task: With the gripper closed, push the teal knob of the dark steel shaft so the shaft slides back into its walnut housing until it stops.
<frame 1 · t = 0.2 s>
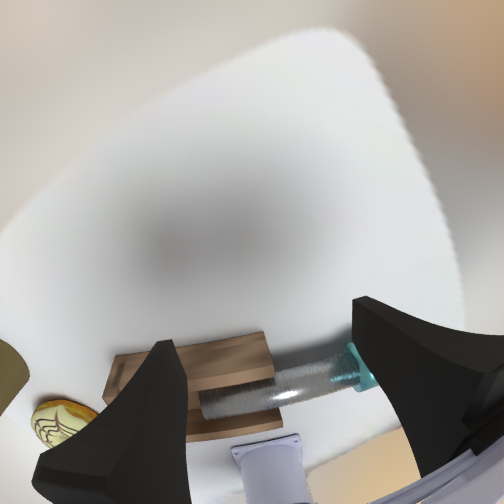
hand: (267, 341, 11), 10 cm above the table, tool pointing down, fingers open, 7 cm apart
olive brown pawn: (8, 360, 21), on the table
decorated donut: (77, 422, 25), on the table
housing: (212, 377, 24), on the table
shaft: (292, 385, 22), point 3 cm above the table, slide at 5.0 cm
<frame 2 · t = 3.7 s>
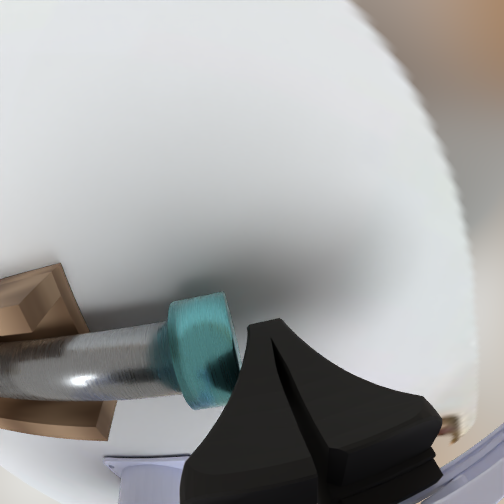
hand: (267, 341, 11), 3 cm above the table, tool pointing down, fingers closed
housing: (26, 341, 13), on the table
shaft: (76, 368, 10), point 3 cm above the table, slide at 3.8 cm, touching gripper
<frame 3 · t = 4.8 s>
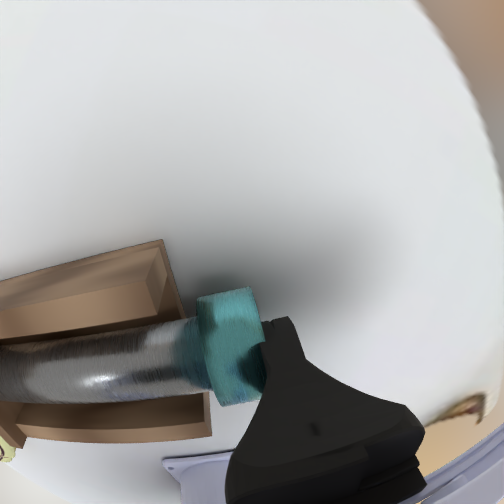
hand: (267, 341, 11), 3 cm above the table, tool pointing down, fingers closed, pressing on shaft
housing: (95, 334, 13), on the table
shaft: (94, 369, 10), point 3 cm above the table, slide at -0.5 cm, touching gripper, housing
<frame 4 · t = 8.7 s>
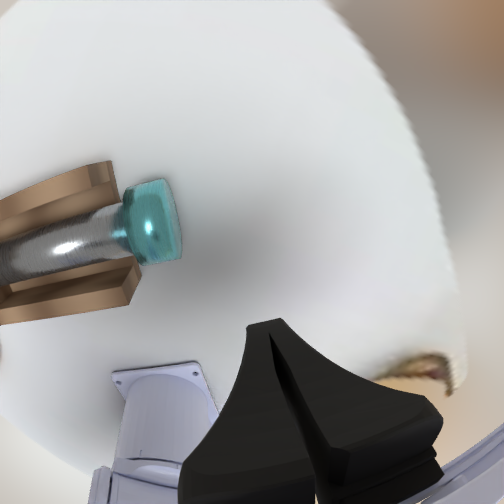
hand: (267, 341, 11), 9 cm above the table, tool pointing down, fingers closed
housing: (63, 236, 17), on the table
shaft: (61, 246, 15), point 3 cm above the table, slide at 0.0 cm
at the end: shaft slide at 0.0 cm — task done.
